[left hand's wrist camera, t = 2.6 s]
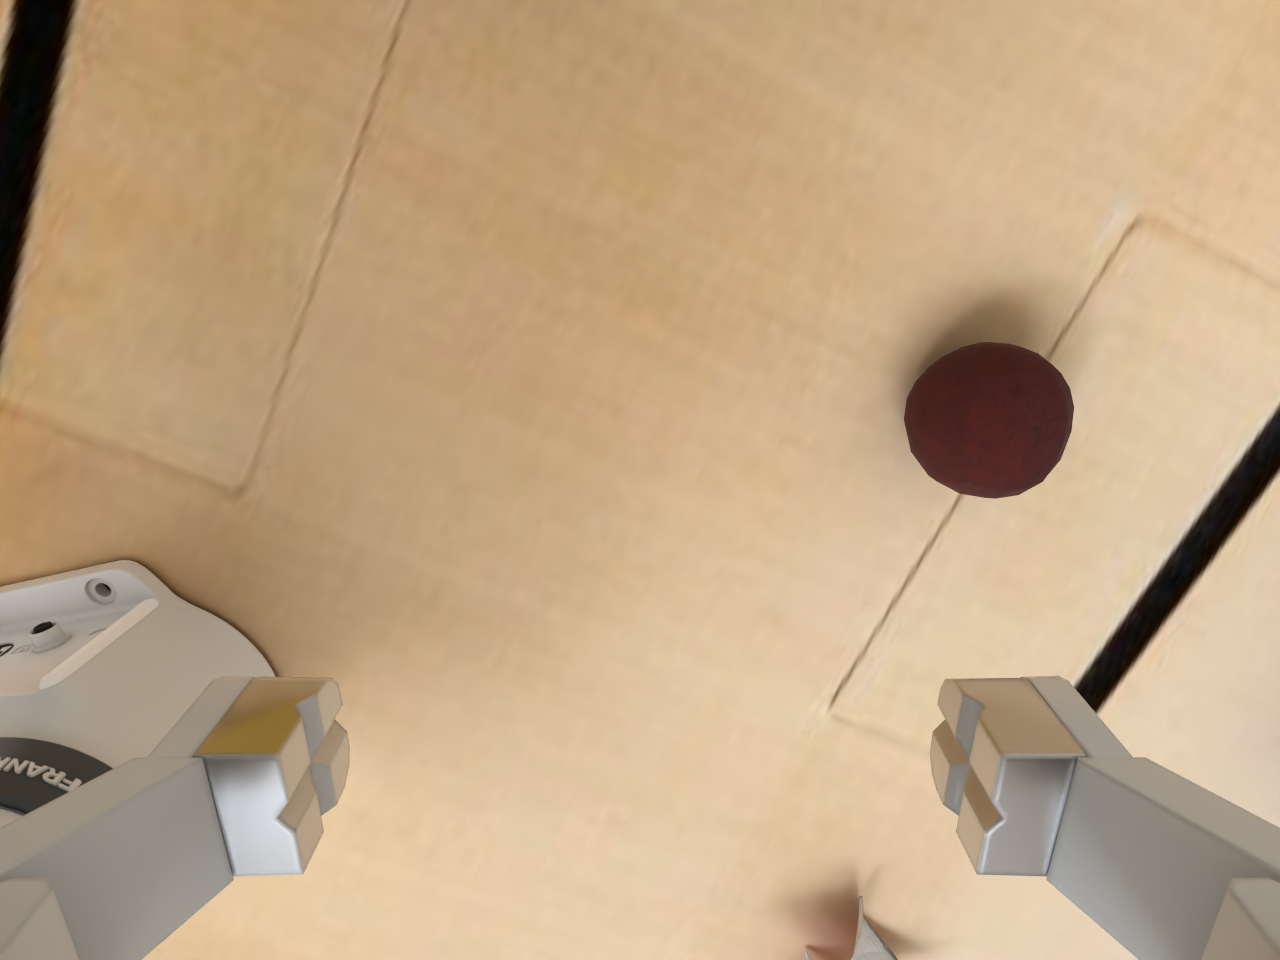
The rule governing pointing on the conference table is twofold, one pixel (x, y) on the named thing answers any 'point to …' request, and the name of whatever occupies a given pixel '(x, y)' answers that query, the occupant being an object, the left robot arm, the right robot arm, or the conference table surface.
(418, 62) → the conference table surface
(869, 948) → the fish
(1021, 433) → the maroon ball
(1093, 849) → the left robot arm
